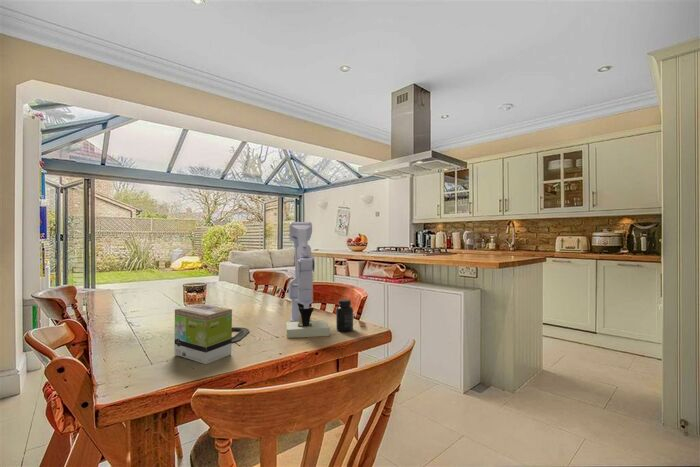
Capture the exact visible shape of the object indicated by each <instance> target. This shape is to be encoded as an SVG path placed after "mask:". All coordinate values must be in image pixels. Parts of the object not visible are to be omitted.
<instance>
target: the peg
mask: <svg viewBox="0 0 700 467" xmlns="http://www.w3.org/2000/svg"><path fill="white" fill-rule="evenodd" d="M298 322H299V327H309V326H303V324H302V318H301V313H300V312H299V321H298Z"/></svg>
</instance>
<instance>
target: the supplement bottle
mask: <svg viewBox="0 0 700 467" xmlns="http://www.w3.org/2000/svg"><path fill="white" fill-rule="evenodd" d="M351 305H352V302H351V299H348V298H347V299H344V298H343V299H338V307H337V308H336V309H335V310H336V311H335V312H336V316H335V318H336V325H335V326H336V331H337V332H340V333H350V332H352V331H353V330H354V309H353V307H352V306H351Z"/></svg>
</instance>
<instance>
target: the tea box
mask: <svg viewBox="0 0 700 467" xmlns="http://www.w3.org/2000/svg"><path fill="white" fill-rule="evenodd" d="M232 327H233V309H231V308H226V307H220V306H215V305H210V304H204V303H198V304H195V305H191V306H185V307H182V308H175V309H174V346H173V347H174V348H173V350H174V353H173V354H174V356H177V357H182V358H184V359H187V360H191V361H194V362H197V363H200V364H202V365H208V364H210V363H213V362H216V361H219V360H221V359H224V358H225V357H227V356H231V355H232V346H233V345H232V344H233V343H232V337H233V336H232V334H233V331H232Z"/></svg>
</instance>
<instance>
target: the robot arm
mask: <svg viewBox="0 0 700 467" xmlns="http://www.w3.org/2000/svg"><path fill="white" fill-rule="evenodd" d="M288 229H289V230H288V232H289V241H292V243H293V244H294V278H292V279H291V280H290V281H289V282H288V299H289V300H291V315H290V316H289V317H290V322H299V312H300V313H301V318H302V324H303V326H309V322H310V321H311V316H312V314H313V311H314V307H311V306H312V303H314V299H313V298H314V294H313V292H314V288H313V286H314V285H313V284H314V272H315V258H314V257H313V256H314V255H313V254H312V248H311V246H310V245H309V243H308V242H309V241H310V240H311V238H312V234H313V223H312V222H311V221H309V222H308V221H304V222H303V221H290V222H289V228H288Z"/></svg>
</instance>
